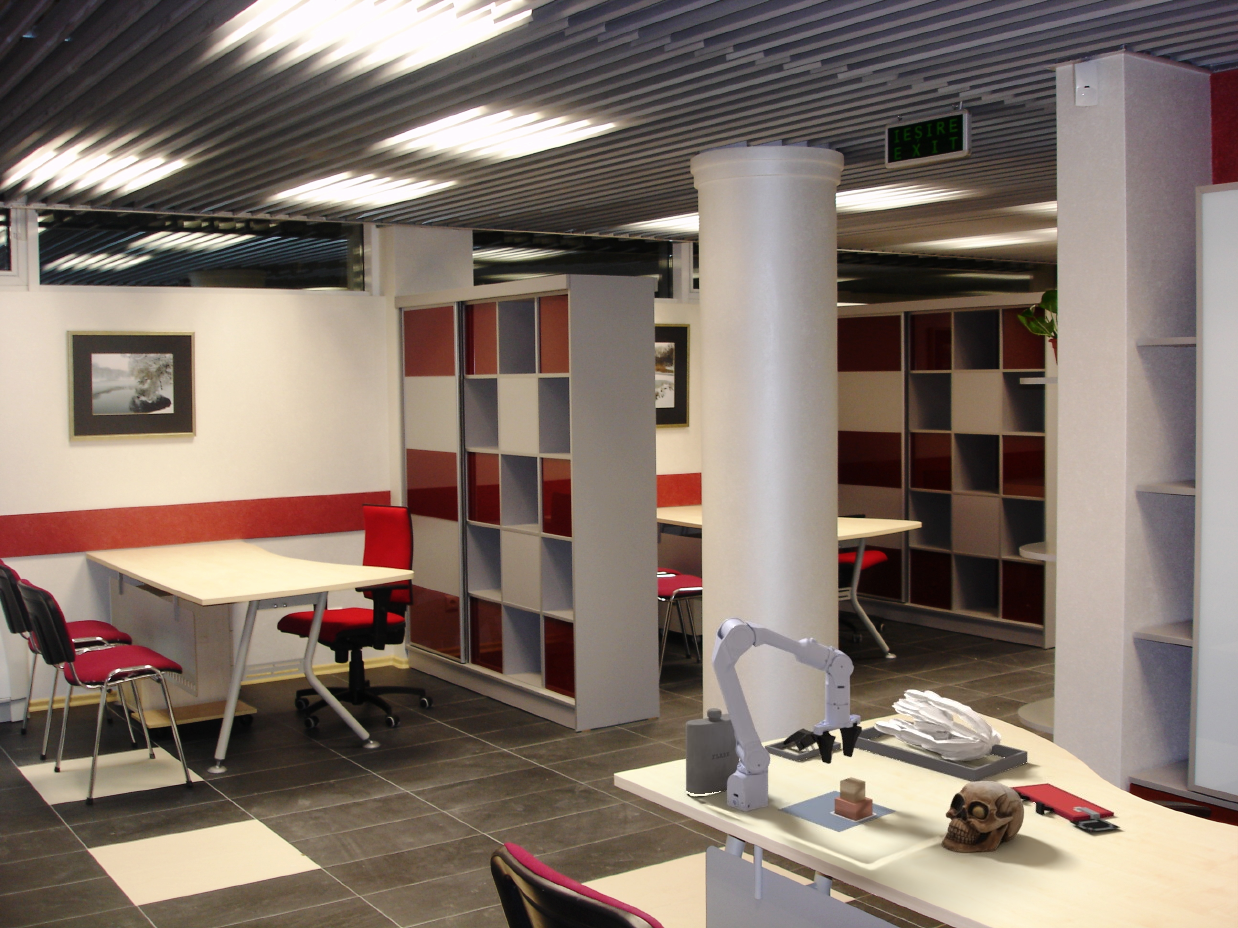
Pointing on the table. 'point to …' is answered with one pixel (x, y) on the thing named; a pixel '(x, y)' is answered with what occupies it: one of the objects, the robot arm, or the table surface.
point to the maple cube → (852, 789)
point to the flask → (710, 753)
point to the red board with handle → (1066, 806)
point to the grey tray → (1010, 761)
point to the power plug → (801, 739)
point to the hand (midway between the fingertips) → (837, 759)
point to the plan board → (829, 812)
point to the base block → (854, 808)
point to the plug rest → (776, 751)
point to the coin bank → (983, 817)
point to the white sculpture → (941, 727)
